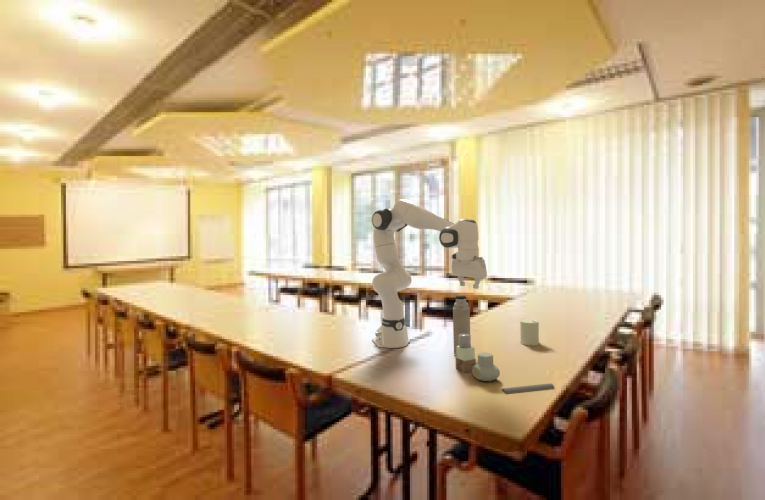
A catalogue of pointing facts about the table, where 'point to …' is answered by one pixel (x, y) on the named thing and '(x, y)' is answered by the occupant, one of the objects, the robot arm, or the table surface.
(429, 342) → the table surface
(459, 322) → the thermos bottle
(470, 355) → the sage block
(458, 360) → the walnut block
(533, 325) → the can
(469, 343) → the short grey cylinder
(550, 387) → the half round rod
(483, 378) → the air freshener
